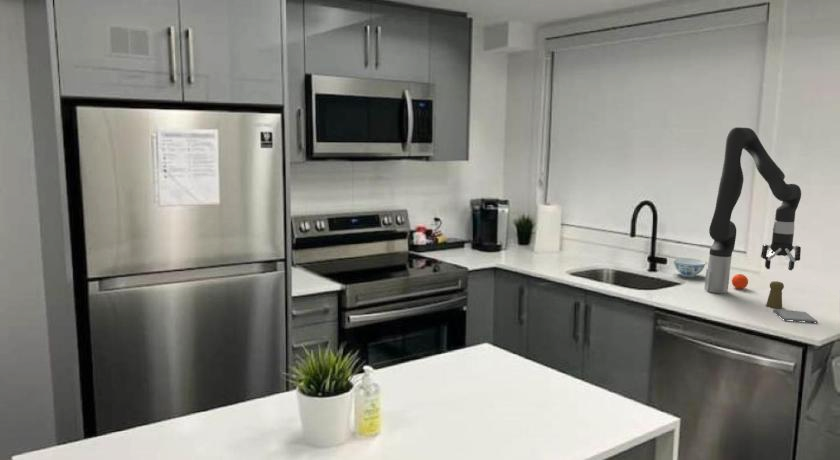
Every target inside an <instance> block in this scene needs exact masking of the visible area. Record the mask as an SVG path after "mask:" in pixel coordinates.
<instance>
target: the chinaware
mask: <svg viewBox="0 0 840 460" xmlns="http://www.w3.org/2000/svg"><path fill="white" fill-rule="evenodd" d="M672 260H673V264H674V267H675V269H676V271H677V272H678V273H680V276H682V277H685V278H695V277H696V275H699V274H700V273H701V272H702V271H703V270H704V268H705V266H706V264H707V263H706V261H704V260H701V259H697V258H691V257H675V258H673V259H672Z"/></svg>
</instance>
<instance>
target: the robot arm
mask: <svg viewBox="0 0 840 460" xmlns="http://www.w3.org/2000/svg"><path fill="white" fill-rule="evenodd" d="M724 149H725V150H724V160H723V164H722V165H723V166H722V169H721V170H722V172H721V175H720V179H719V185H718V191H717V197H716V203H715V208H714V213H713V216H712V217H711V222H710V226H709V229H708V231H709V232H708V233H709V236H710V238H711V239H712V240H713V243H712V245H711V247H710V248H709V254H708V255H709V256H708V263H707V265H708V266H707V268H706V270H705V279H704V289H705V290H706V292H709V293H713V294H714V293H715V294H727V293H728V291H729V284H730V274H731V263H732V255H733V252H734V250H735V247H736V246H735V245H736V239H737V227H736V224H735V223H734V222H733V221H731V218H732V213H733V210H734V209H735V207H736V205H737V203H738V202H739V200H740V197H741V195H742V194H741V193H742V190H743V185H744V179H745V178H744V173H743V169H742V163H741V161H742V160H741V159H742V153H743V149H744V151H746V152H747V153H748V154H749V155H750V156H751V157H752V159H753V161H754V164H755V167H756V169H757V171H758V173H759V175H760V176H761V178H763V179H764V180H765V182H766V183H767V184H768V187H769V188H770V190H771V193H772V195H773V196H774V198H776V200H778V201H781V205H779V206H778V207H776V210H775V216H774V221H773V222H774V223H773V228H772V236H771V237H772V238H771V244H766V243H763V244H762V249H761V253H760V257H761V258H762V259H763V260H765V262H764V263H765V264H764V266H765V268H766V269H767V270H770V269H771V263H772V262H771V260H772V259H773V258H774V257H776V256H778V257H779V256H783V257H787V258H788V259H789V261H788V267H787V268H788V269H787V270H789V271H793V270H794V269H795V262H797V261H798V262H799V261H801V251H802V249H801V248H802V247H801V246H800V245H794V246H793V243H794V234H795V219H796V211H797V209H798V207H799V204H800V201H801V198H802V190H801V187H800V186H799V185H798V184H796V183H786V181H785V178H786V175H785V173H784V171H782V170H781V168H780V166H778V165H777V163H776V162H775V161H774V160H773V159H772V157H771V156H770V154H769V153H768V152H767V150H766V149H765V147H764V146H763V144H762V142H761V140H760V139H759V137H758V136H757V134H756V132H755V131H754V130H753V129H752V128H749V127H733V128H730V129H729V131H728V132H727V135H726V139H725V148H724ZM769 250H771V251H769ZM768 251H769V252H768ZM792 251H794V256H793V254H792V253H791V252H792Z"/></svg>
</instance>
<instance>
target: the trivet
mask: <svg viewBox="0 0 840 460" xmlns="http://www.w3.org/2000/svg"><path fill="white" fill-rule="evenodd" d="M772 313H774V314H775V313H776V314H777V315H778V316H780V317H781V318H782V319H784V320H793V321H805V322H816V323H817V324H818V319H815V318H814V317H813V316H812V315H810V314H809V313H807V312H806V311H797V310H785V309H784V310H782V309H772ZM776 314H775V315H776ZM777 315H776V316H777ZM778 316H777V317H778ZM780 317H779V318H780ZM781 318H780V319H781ZM782 319H781V320H782ZM816 323H815V324H816Z"/></svg>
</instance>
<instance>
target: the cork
mask: <svg viewBox="0 0 840 460" xmlns="http://www.w3.org/2000/svg"><path fill="white" fill-rule="evenodd" d="M769 288H770V291H769V294H768V297H767V301H766V305H765V307H767V308H769V307H770V308H769V309H773V308H775V309H774V310H782V309H783V290H784V288H785V285H784V283H783V282H781V281H778V280H776V281H775V280H774V281H770V283H769Z"/></svg>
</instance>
